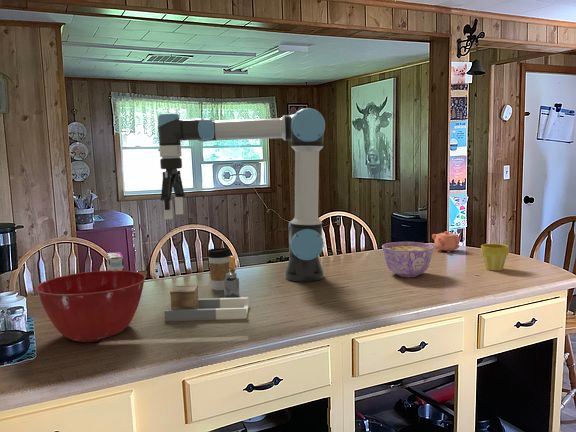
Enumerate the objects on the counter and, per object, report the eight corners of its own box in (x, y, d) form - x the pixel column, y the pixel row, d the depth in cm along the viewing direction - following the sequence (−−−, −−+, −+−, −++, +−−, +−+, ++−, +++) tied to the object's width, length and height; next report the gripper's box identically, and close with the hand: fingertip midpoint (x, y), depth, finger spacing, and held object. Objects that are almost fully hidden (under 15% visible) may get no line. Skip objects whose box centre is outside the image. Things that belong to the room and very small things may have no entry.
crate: (199, 310, 159) (198, 285, 158) (195, 317, 152) (194, 291, 151) (176, 311, 159) (174, 285, 158) (171, 318, 151) (170, 292, 150)
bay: (248, 309, 162) (248, 297, 161) (246, 321, 150) (246, 308, 149) (173, 311, 161) (172, 299, 161) (165, 324, 149) (164, 311, 149)
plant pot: (495, 265, 214) (495, 242, 213) (513, 270, 204) (514, 246, 203) (475, 267, 210) (475, 244, 209) (493, 273, 201) (493, 248, 199)
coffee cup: (227, 291, 183) (226, 251, 181) (205, 291, 185) (203, 250, 183) (234, 285, 191) (233, 246, 189) (213, 285, 193) (211, 246, 191)
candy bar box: (126, 304, 170) (123, 256, 168) (111, 306, 168) (107, 258, 166) (123, 296, 181) (120, 251, 179) (108, 298, 179) (105, 252, 177)
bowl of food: (426, 283, 188) (426, 252, 186) (374, 277, 198) (374, 248, 196) (439, 271, 205) (439, 243, 204) (391, 267, 215) (391, 240, 214)
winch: (246, 298, 174) (245, 275, 173) (244, 306, 165) (243, 282, 164) (220, 299, 174) (219, 276, 173) (217, 307, 165) (216, 283, 164)
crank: (236, 279, 167) (235, 260, 166) (225, 280, 166) (224, 261, 166) (238, 273, 175) (237, 255, 175) (227, 273, 175) (227, 255, 174)
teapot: (438, 254, 240) (438, 233, 239) (430, 249, 252) (431, 230, 251) (462, 253, 241) (463, 233, 240) (453, 248, 253) (454, 229, 251)
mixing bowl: (69, 318, 157) (65, 269, 155) (160, 317, 156) (157, 268, 154) (19, 354, 129) (13, 295, 127) (129, 352, 128) (125, 293, 126)
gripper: (170, 157, 193) (174, 212, 196) (148, 158, 169) (152, 221, 171) (190, 157, 193) (193, 212, 196) (170, 157, 168) (174, 220, 171)
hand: (174, 216), depth 183 cm, fingers open, 13 cm apart
